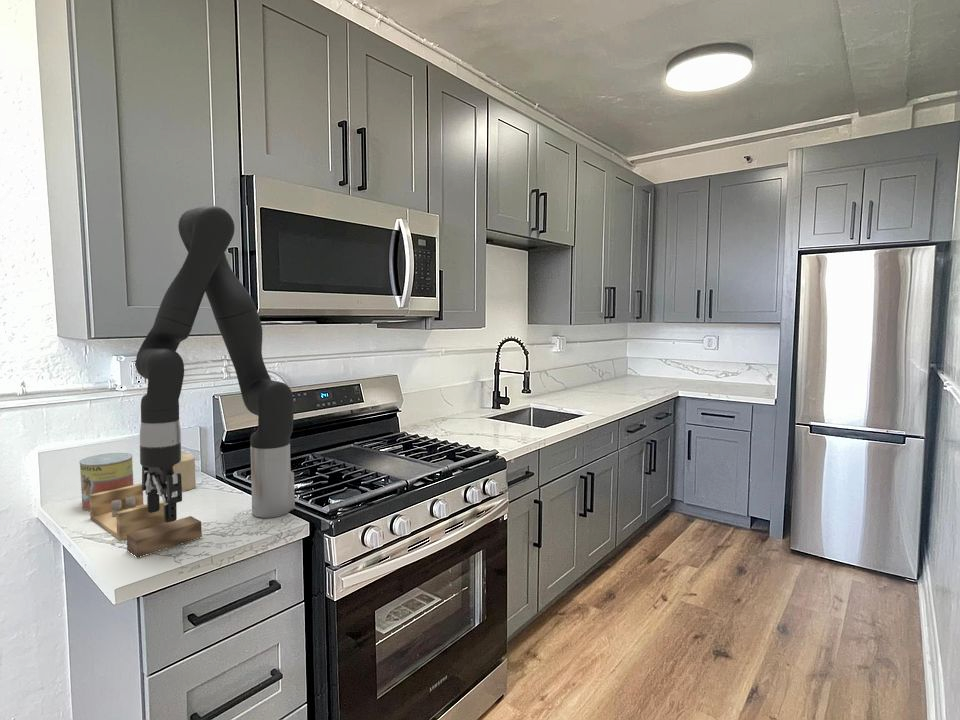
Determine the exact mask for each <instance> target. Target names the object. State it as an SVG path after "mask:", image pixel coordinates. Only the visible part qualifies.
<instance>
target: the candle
mask: <svg viewBox="0 0 960 720" xmlns="http://www.w3.org/2000/svg"><path fill="white" fill-rule="evenodd" d="M173 471H174V474H178V473H180V474H181V482H182V492H185V491H191V490H193V489H195V488H196V484H197V483H196V458H195V456H194V455H192V454H191V453H190V452H181V461H180V462H179V463H178V464H175V465H174V466H173Z"/></svg>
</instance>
